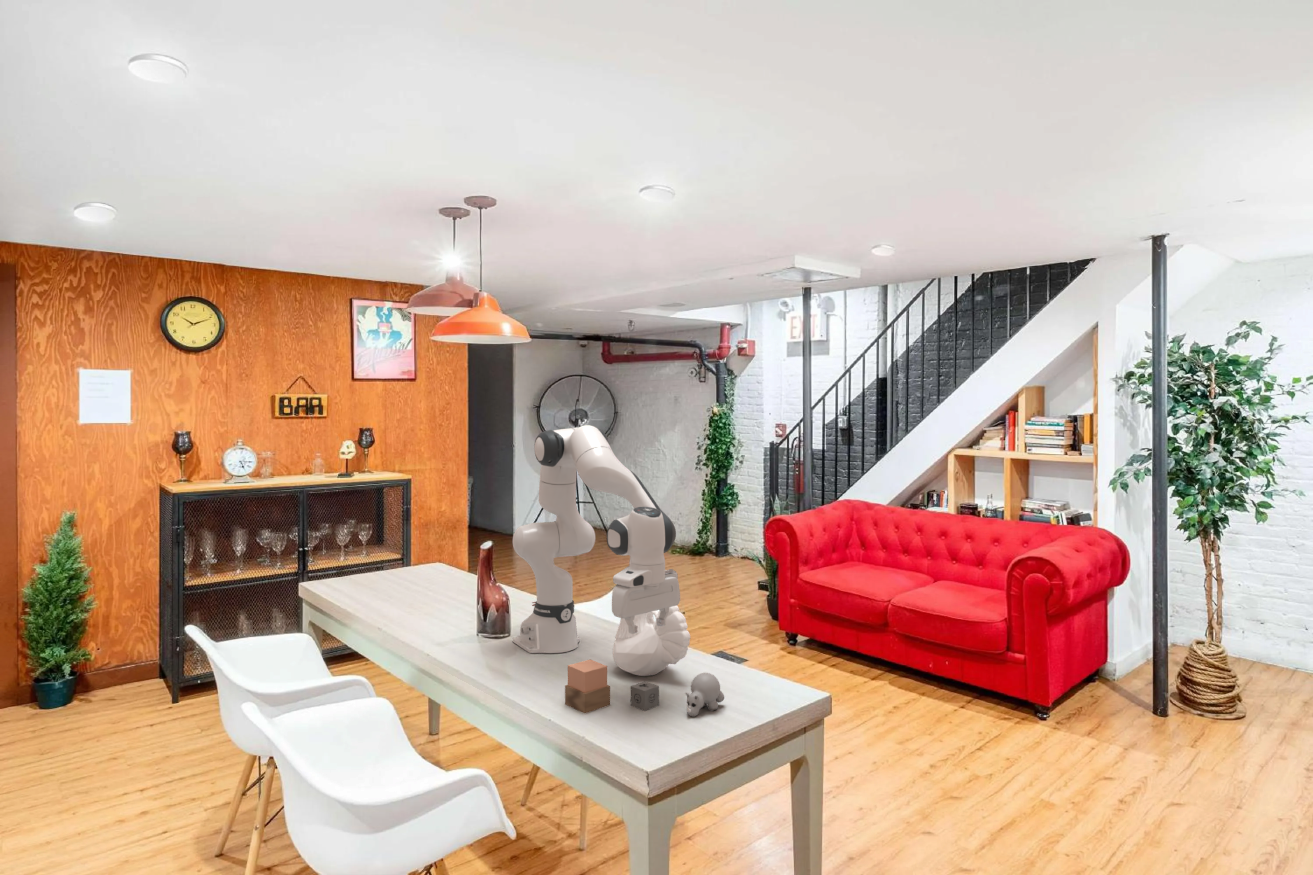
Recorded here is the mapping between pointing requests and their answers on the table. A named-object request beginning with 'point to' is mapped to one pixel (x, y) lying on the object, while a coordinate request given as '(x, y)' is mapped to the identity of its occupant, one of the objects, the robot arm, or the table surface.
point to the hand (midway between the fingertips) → (647, 629)
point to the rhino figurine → (704, 693)
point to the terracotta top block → (587, 675)
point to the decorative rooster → (651, 643)
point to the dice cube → (644, 695)
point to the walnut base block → (587, 699)
